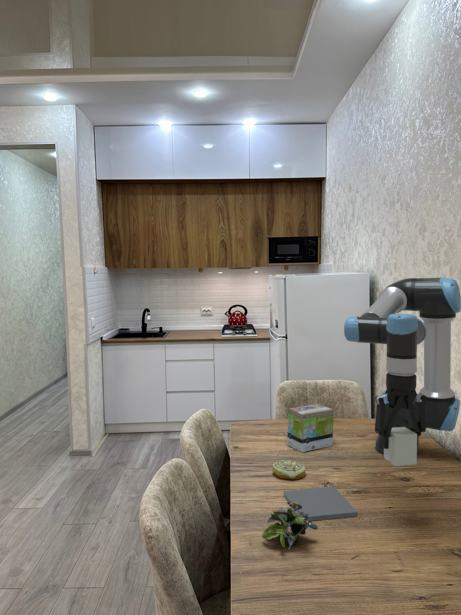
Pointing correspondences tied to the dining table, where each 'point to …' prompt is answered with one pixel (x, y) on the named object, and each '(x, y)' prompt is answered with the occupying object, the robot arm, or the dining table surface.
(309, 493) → the slate plate
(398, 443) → the sage block
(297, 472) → the decorated donut
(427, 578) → the dining table surface
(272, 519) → the passion flower
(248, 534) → the dining table surface
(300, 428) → the tea box
